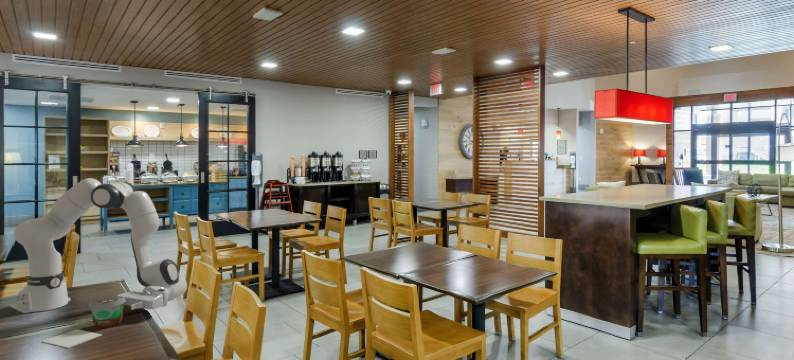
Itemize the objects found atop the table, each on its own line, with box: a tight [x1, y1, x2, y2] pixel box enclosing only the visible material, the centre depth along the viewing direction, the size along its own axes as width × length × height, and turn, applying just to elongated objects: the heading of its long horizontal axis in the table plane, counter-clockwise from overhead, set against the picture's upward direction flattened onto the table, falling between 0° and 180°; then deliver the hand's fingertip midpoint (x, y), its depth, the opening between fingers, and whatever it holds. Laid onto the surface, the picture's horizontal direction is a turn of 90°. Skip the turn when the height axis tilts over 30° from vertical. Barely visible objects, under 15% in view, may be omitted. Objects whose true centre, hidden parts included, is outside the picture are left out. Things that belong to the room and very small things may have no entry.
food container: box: [88, 297, 126, 329], centre depth 175 cm, size 12×6×10 cm, turn 118°
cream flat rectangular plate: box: [41, 328, 103, 349], centre depth 164 cm, size 14×12×1 cm
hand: (121, 305), depth 181 cm, fingers open, 8 cm apart
